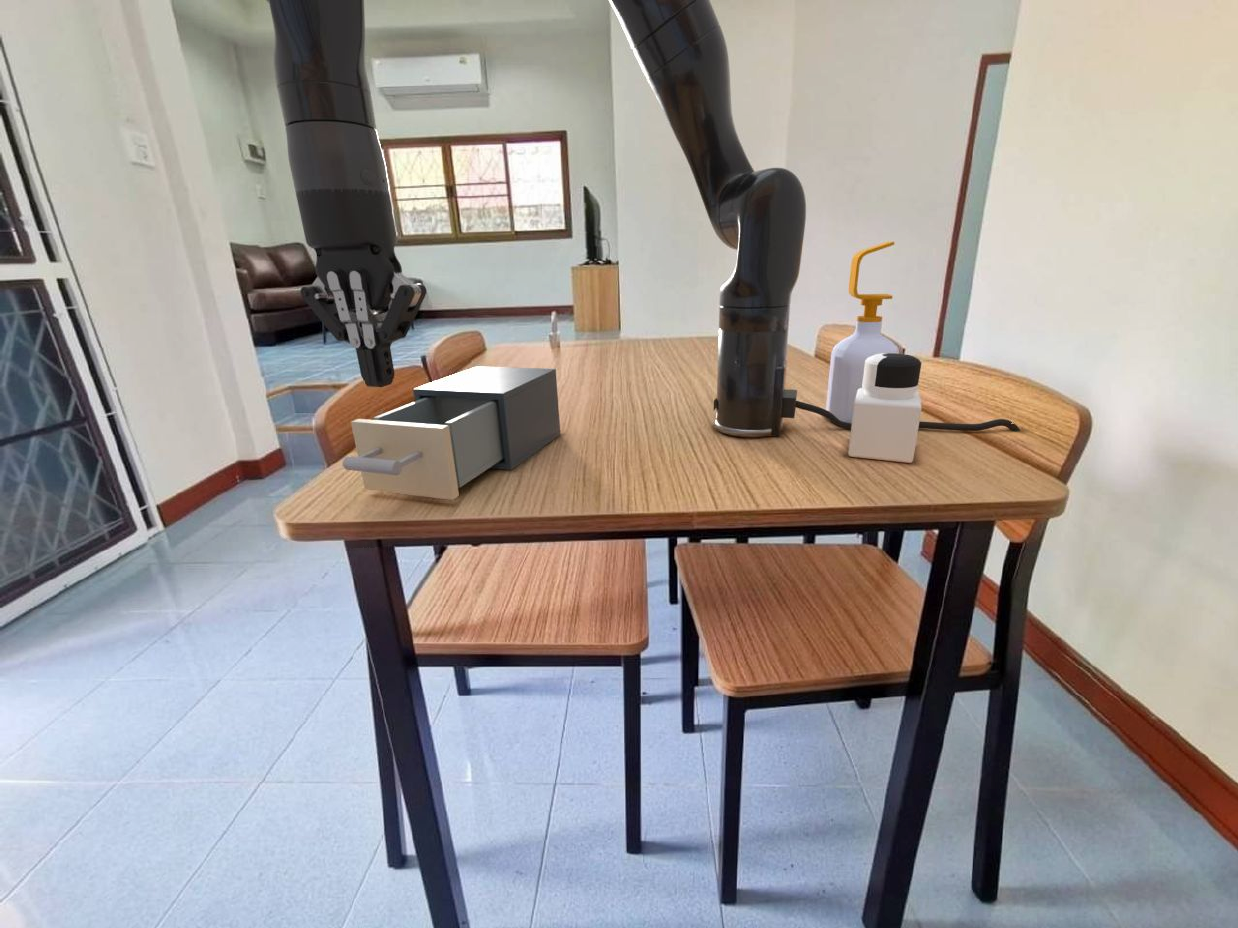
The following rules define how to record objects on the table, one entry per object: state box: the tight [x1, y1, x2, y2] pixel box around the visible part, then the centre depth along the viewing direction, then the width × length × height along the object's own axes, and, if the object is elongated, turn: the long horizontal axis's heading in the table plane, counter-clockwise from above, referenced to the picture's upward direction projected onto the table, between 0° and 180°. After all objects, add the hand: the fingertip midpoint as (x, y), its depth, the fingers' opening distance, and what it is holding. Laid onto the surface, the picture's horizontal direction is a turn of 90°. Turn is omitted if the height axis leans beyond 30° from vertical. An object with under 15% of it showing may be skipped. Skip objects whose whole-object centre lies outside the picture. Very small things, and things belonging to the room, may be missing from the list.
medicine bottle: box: [847, 353, 923, 464], centre depth 68 cm, size 7×7×12 cm
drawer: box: [342, 396, 505, 501], centre depth 62 cm, size 18×11×8 cm, turn 161°
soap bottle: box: [825, 241, 900, 423], centre depth 79 cm, size 9×9×25 cm
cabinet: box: [412, 365, 561, 471], centre depth 75 cm, size 15×13×10 cm
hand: (379, 385), depth 55 cm, fingers closed
